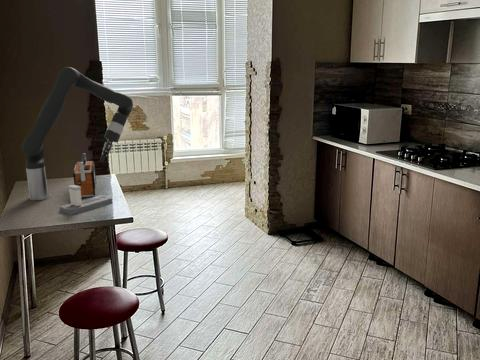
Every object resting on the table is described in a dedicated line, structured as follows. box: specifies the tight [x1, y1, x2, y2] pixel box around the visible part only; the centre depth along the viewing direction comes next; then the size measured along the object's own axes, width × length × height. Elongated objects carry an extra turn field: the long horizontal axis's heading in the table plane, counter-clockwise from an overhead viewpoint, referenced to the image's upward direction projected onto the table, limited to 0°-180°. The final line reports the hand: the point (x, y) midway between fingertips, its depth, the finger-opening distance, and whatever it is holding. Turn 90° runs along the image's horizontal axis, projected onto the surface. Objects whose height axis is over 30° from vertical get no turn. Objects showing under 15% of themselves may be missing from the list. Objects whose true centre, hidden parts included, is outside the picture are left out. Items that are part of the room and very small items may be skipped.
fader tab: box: [68, 184, 83, 206], centre depth 225 cm, size 3×6×9 cm, turn 52°
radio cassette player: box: [72, 152, 97, 198], centre depth 257 cm, size 29×10×20 cm, turn 16°
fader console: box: [59, 194, 113, 216], centre depth 231 cm, size 24×10×3 cm, turn 142°
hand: (101, 162), depth 237 cm, fingers closed
